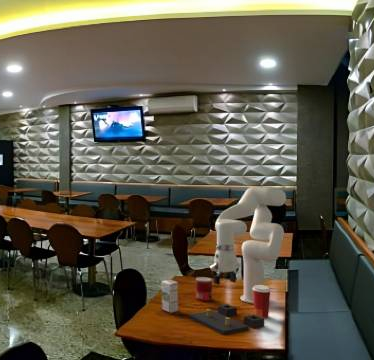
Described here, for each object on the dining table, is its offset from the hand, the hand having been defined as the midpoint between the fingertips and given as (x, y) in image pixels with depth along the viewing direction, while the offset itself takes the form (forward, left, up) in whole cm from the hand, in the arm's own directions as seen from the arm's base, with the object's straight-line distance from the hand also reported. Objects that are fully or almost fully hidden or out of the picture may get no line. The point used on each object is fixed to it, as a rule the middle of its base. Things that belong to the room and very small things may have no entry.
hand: (224, 282), depth 212 cm
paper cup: (-13, +9, -15) cm, 22 cm away
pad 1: (-1, 0, -15) cm, 15 cm away
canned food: (-6, -22, -15) cm, 27 cm away
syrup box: (+21, -15, -15) cm, 30 cm away
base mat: (+12, +8, -15) cm, 21 cm away
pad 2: (-1, +16, -15) cm, 22 cm away
